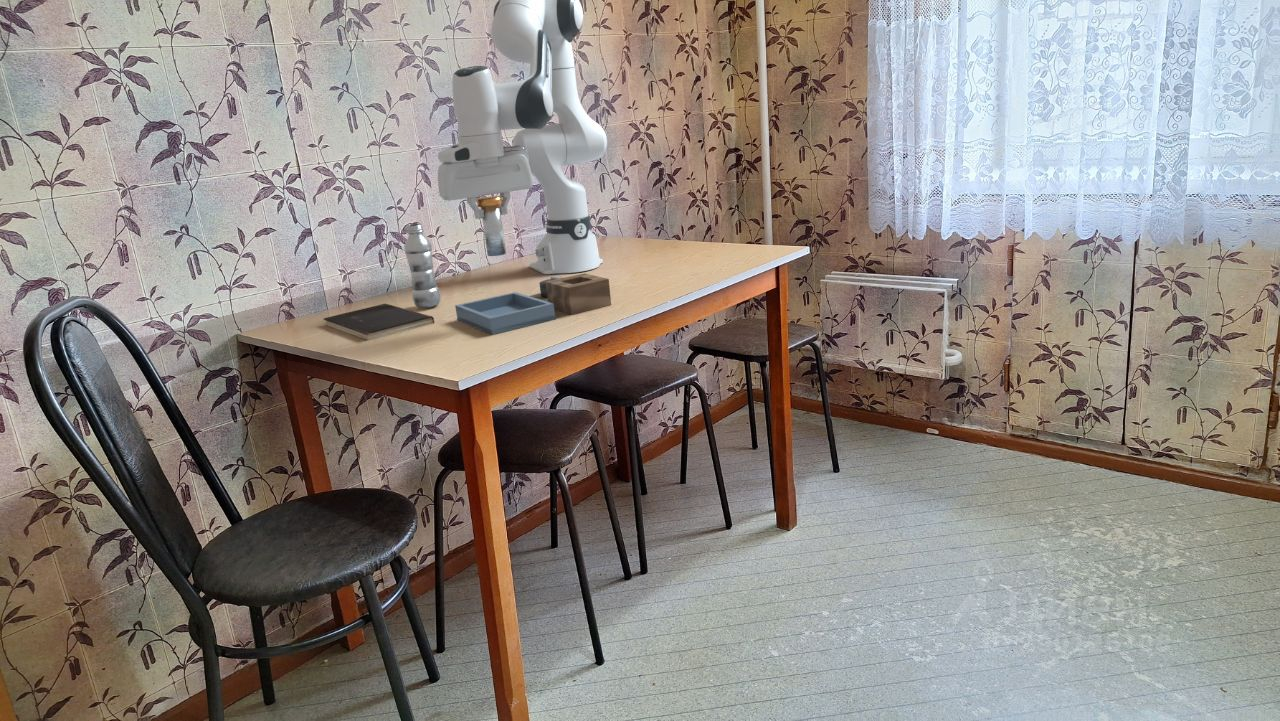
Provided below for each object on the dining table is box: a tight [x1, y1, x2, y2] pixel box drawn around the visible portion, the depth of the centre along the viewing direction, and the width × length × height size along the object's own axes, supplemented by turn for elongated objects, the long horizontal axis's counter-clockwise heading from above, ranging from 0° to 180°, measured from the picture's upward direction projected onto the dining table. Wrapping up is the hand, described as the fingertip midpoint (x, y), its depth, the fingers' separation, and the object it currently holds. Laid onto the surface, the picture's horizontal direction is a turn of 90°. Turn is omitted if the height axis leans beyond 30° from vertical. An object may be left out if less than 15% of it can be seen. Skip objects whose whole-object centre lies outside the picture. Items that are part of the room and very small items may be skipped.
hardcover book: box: [322, 303, 435, 341], centre depth 189 cm, size 16×23×2 cm
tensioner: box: [529, 272, 612, 316], centre depth 192 cm, size 19×10×6 cm, turn 35°
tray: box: [454, 291, 556, 336], centre depth 182 cm, size 18×15×4 cm
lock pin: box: [476, 195, 507, 257], centre depth 176 cm, size 5×5×12 cm
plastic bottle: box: [403, 223, 441, 309], centre depth 198 cm, size 6×7×20 cm
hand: (491, 216), depth 176 cm, fingers closed on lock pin, 4 cm apart
